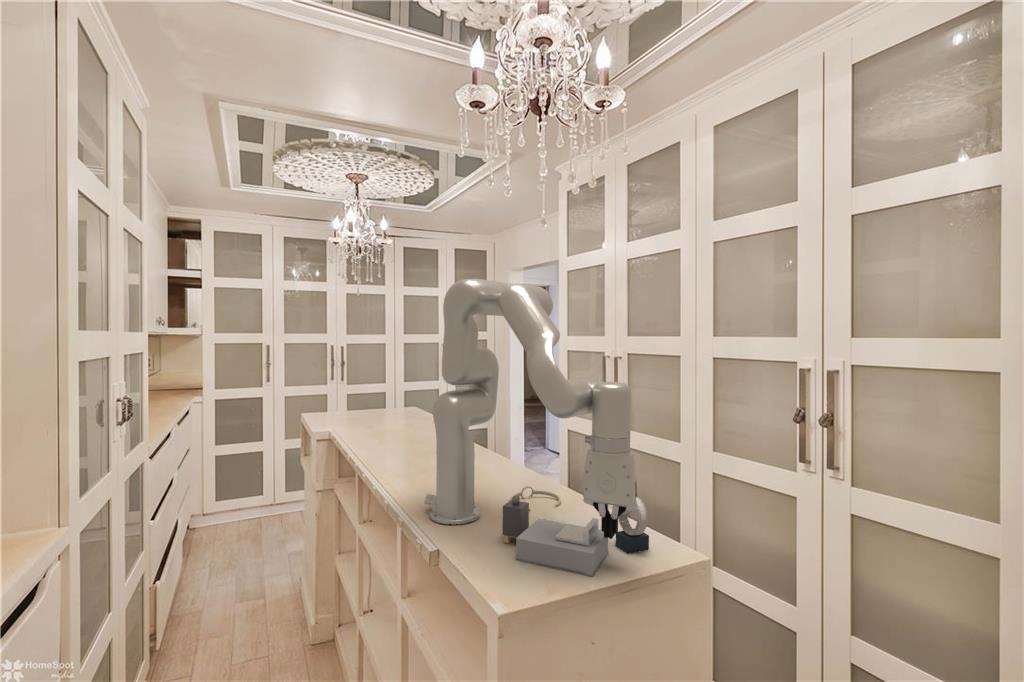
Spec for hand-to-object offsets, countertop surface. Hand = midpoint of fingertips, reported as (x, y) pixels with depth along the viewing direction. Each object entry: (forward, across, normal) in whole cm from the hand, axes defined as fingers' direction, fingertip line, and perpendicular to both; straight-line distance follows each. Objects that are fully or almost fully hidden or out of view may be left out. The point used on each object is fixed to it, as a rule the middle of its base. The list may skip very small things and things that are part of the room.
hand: (609, 535), depth 100 cm
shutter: (+1, -7, 0) cm, 7 cm away
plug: (+6, -22, +2) cm, 23 cm away
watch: (+6, +2, +10) cm, 12 cm away
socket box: (+6, -10, 0) cm, 11 cm away
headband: (+7, -28, +27) cm, 39 cm away
